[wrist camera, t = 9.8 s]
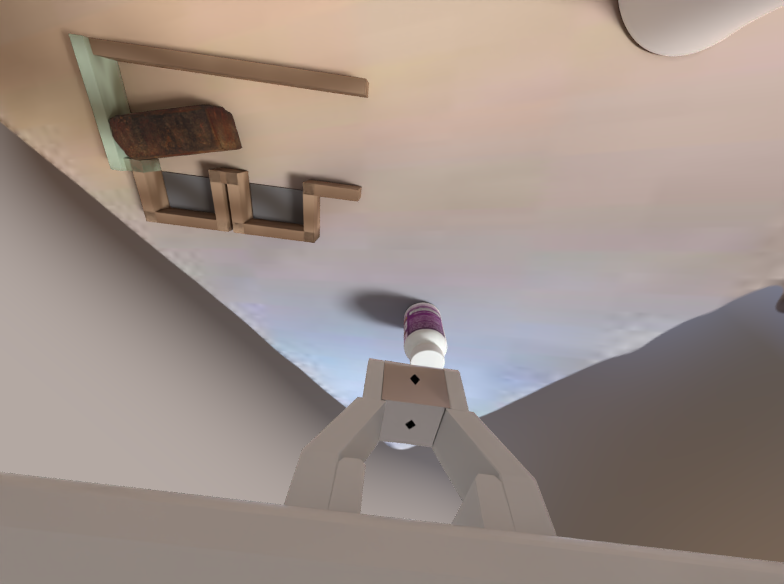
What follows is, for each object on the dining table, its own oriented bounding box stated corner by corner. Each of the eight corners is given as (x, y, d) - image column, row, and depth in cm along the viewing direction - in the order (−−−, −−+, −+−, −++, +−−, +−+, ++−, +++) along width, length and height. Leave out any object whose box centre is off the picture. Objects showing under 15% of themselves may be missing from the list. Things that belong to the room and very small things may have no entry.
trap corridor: (100, 43, 28) (68, 33, 25) (368, 83, 28) (365, 77, 26) (147, 214, 35) (126, 220, 33) (357, 241, 36) (354, 249, 34)
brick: (231, 107, 30) (204, 102, 26) (244, 149, 32) (220, 151, 28) (137, 118, 31) (96, 115, 27) (155, 159, 33) (119, 162, 28)
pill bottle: (397, 309, 41) (396, 354, 32) (432, 295, 40) (440, 338, 31) (412, 337, 43) (415, 386, 35) (446, 325, 42) (457, 372, 33)
